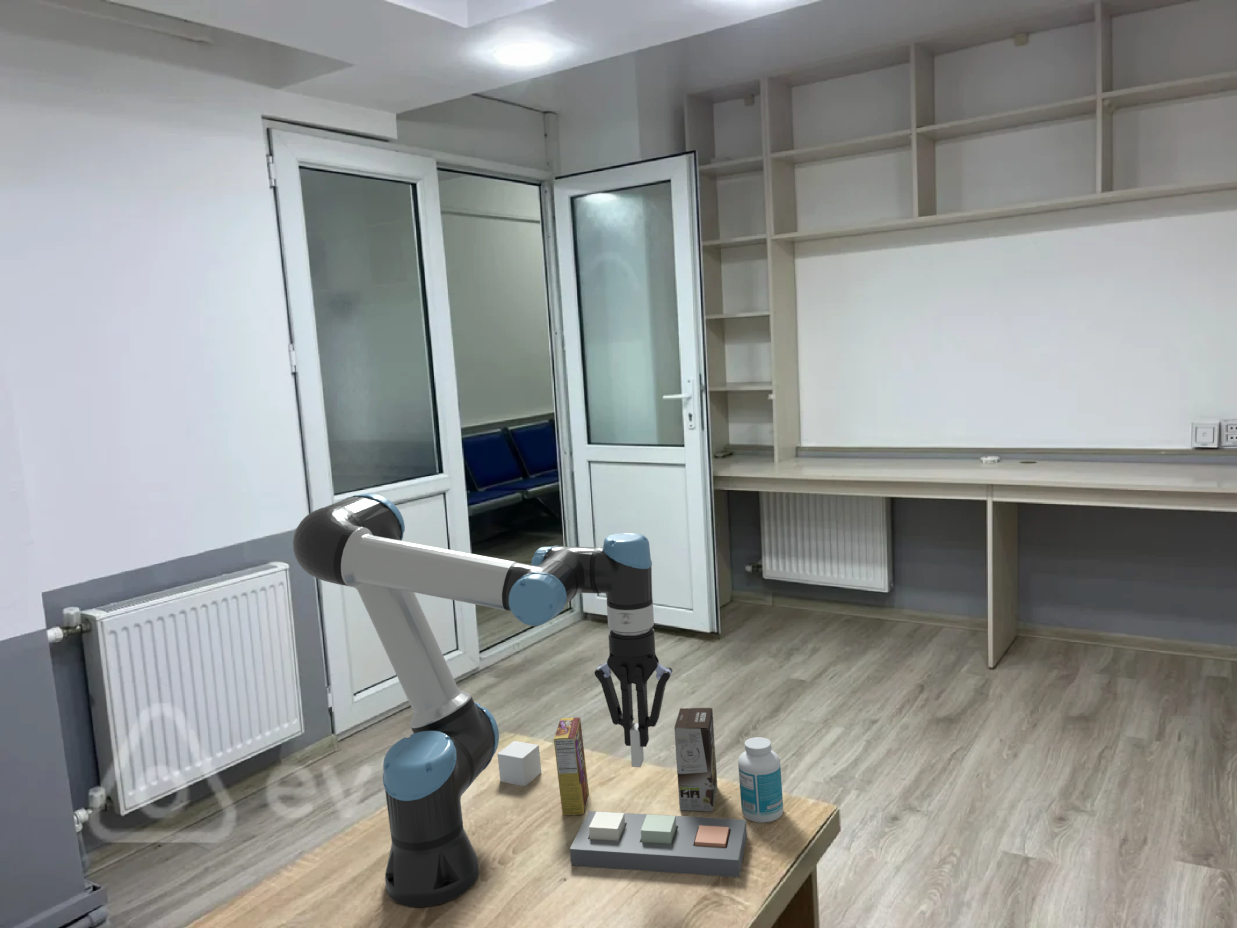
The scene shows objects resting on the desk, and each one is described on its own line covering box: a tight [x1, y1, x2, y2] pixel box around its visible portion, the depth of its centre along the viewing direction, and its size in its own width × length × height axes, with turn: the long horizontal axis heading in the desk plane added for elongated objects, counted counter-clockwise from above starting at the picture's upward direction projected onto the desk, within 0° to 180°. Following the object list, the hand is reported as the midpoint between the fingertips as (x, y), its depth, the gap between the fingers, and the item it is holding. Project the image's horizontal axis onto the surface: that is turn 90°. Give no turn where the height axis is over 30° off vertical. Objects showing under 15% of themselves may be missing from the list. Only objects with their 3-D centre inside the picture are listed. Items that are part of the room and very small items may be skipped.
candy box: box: [553, 717, 590, 816], centre depth 172 cm, size 9×4×15 cm, turn 175°
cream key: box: [589, 811, 625, 841], centre depth 157 cm, size 5×5×3 cm
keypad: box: [569, 810, 748, 878], centre depth 155 cm, size 28×12×3 cm, turn 76°
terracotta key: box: [695, 825, 729, 848], centre depth 153 cm, size 5×5×3 cm
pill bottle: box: [737, 736, 784, 824], centre depth 164 cm, size 8×7×14 cm
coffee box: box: [673, 707, 718, 812], centre depth 170 cm, size 9×6×16 cm
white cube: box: [497, 740, 542, 787], centre depth 185 cm, size 6×6×6 cm
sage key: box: [641, 813, 677, 844], centre depth 155 cm, size 5×5×3 cm
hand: (637, 763), depth 154 cm, fingers closed
